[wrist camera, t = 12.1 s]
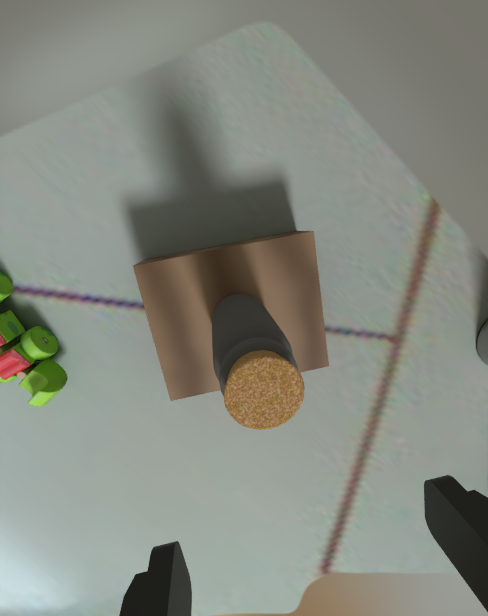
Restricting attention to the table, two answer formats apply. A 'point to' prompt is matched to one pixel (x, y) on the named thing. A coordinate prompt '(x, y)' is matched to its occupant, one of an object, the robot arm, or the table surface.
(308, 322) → the wooden box
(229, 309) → the bottle
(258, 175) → the table surface
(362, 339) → the table surface
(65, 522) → the table surface
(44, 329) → the toy crocodile
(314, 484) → the table surface
